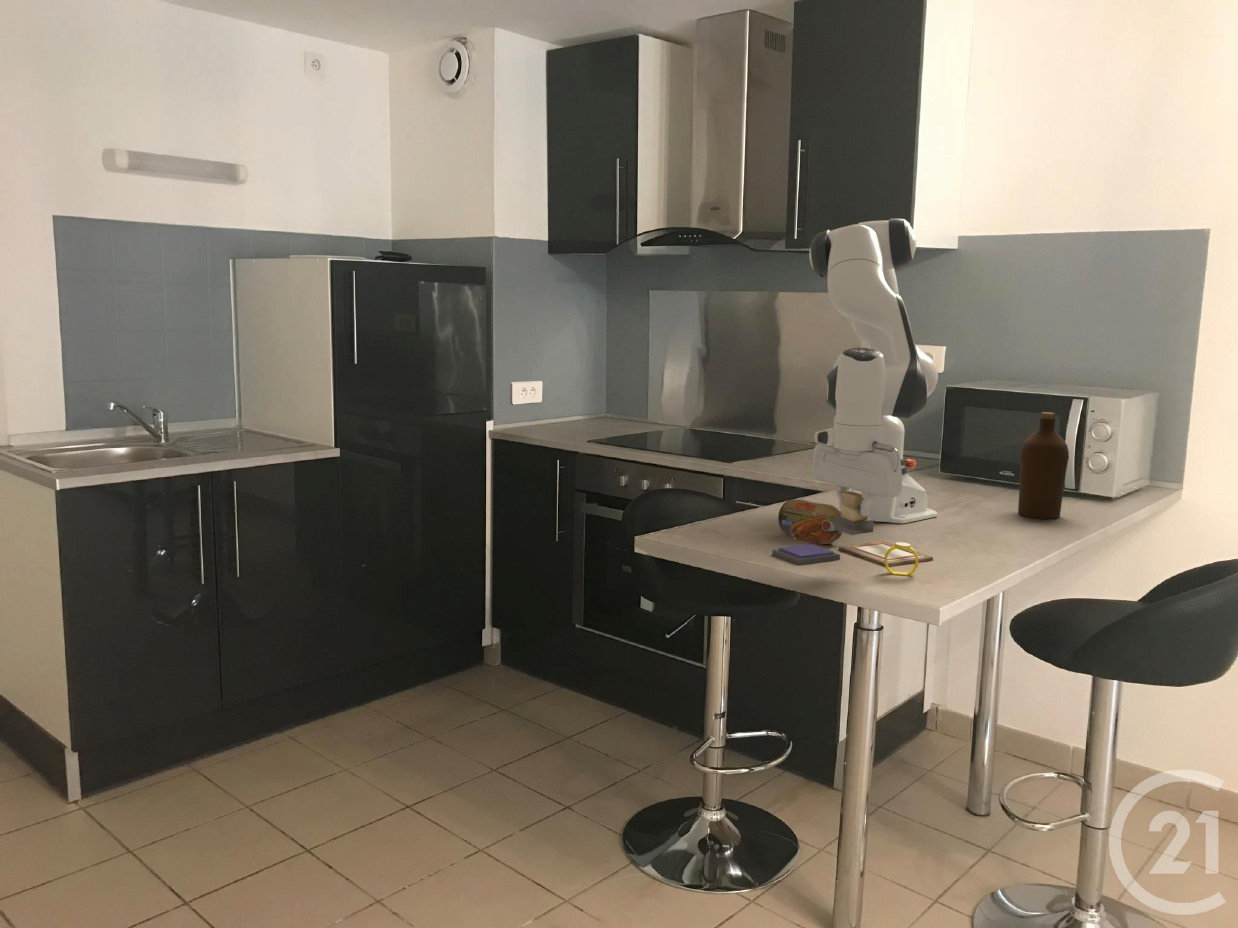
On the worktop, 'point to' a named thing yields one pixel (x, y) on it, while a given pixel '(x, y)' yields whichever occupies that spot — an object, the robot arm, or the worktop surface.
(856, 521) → the stamp
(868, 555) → the board
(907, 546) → the watch
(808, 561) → the ink pad
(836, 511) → the tin
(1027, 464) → the olive oil
